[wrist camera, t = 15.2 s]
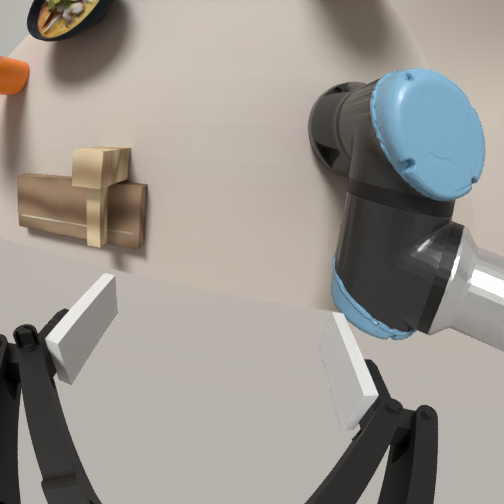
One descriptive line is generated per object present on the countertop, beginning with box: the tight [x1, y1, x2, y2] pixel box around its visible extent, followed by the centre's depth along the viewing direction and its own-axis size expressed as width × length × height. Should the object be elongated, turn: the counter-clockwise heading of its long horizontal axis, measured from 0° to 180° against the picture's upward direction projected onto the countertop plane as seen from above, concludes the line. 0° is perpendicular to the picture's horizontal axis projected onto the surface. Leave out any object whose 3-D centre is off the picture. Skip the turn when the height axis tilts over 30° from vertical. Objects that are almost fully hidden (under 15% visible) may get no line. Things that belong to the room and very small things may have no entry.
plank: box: [17, 174, 147, 249], centre depth 41 cm, size 10×28×2 cm, turn 80°
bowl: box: [27, 0, 113, 41], centre depth 24 cm, size 17×17×10 cm
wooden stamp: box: [72, 146, 131, 248], centre depth 38 cm, size 14×5×9 cm, turn 170°
